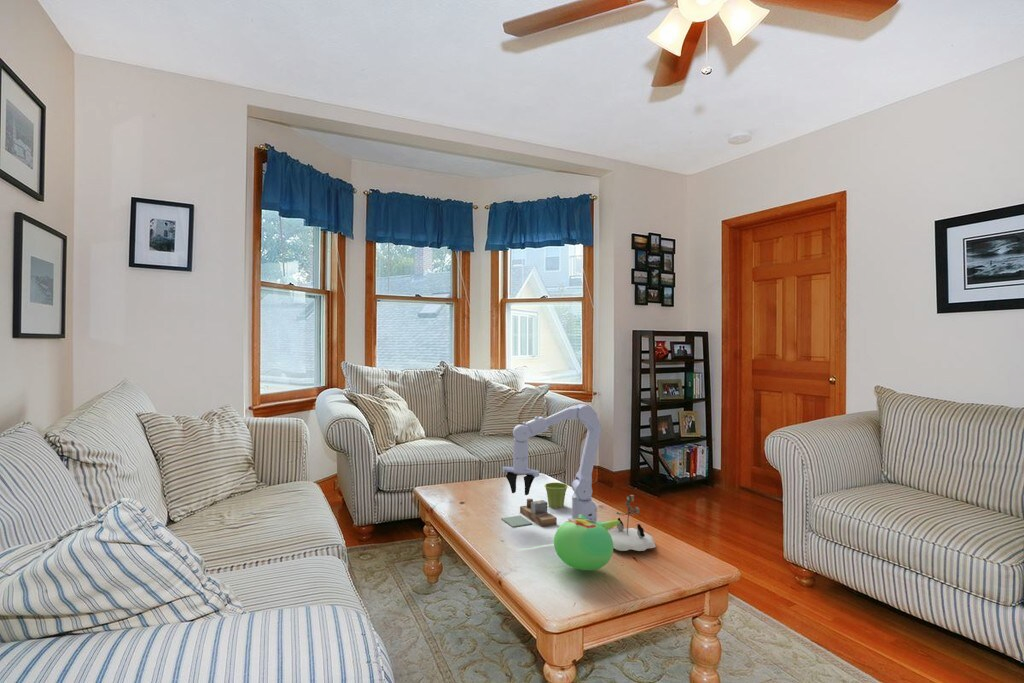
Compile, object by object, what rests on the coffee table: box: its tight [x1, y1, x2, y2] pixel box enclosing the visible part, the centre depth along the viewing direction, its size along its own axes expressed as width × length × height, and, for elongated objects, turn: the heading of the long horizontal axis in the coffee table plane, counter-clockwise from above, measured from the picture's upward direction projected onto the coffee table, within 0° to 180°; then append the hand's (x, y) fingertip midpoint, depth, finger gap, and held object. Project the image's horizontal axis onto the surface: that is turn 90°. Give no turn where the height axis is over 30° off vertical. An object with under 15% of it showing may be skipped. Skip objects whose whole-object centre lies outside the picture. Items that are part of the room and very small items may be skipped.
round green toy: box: [553, 514, 620, 571], centre depth 158 cm, size 18×17×15 cm
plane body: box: [519, 498, 558, 528], centre depth 203 cm, size 18×6×6 cm, turn 26°
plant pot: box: [544, 482, 569, 509], centre depth 218 cm, size 9×9×9 cm
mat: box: [501, 515, 533, 528], centre depth 199 cm, size 10×8×1 cm
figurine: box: [607, 494, 657, 552], centre depth 179 cm, size 20×18×16 cm
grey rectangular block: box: [531, 499, 548, 515], centre depth 202 cm, size 3×5×4 cm, turn 119°
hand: (520, 493), depth 199 cm, fingers open, 5 cm apart
